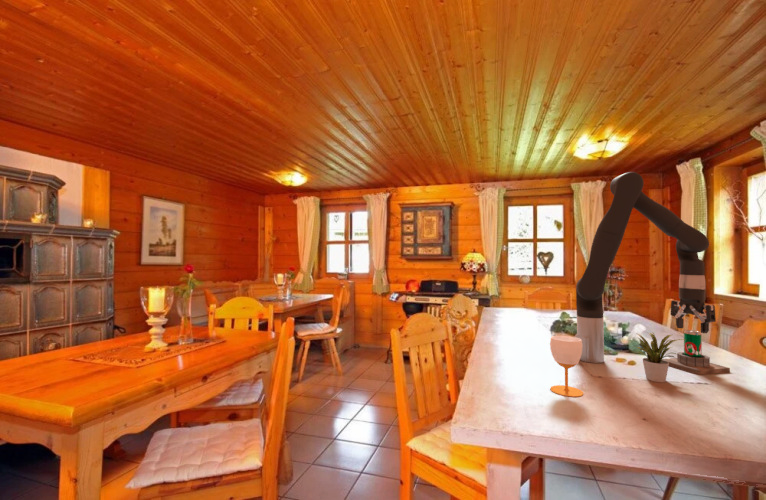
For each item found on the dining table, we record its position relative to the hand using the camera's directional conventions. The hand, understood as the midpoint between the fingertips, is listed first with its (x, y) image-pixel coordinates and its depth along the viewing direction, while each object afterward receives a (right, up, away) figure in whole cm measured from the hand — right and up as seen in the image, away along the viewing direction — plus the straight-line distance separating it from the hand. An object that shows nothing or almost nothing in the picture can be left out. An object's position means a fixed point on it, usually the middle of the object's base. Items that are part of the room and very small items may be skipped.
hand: (691, 330), depth 133 cm
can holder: (0, -14, -1) cm, 14 cm away
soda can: (0, -12, 0) cm, 12 cm away
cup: (-59, -13, -24) cm, 66 cm away
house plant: (-23, -14, -14) cm, 30 cm away
